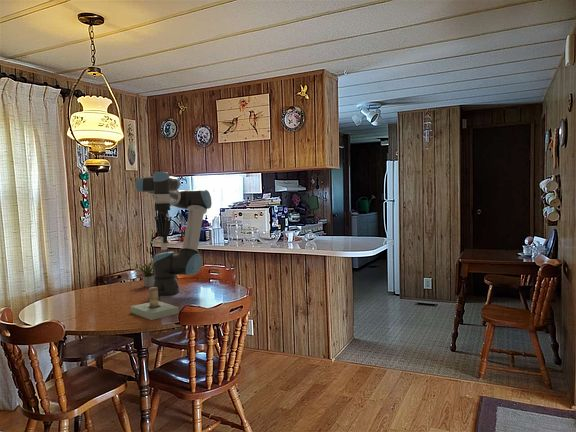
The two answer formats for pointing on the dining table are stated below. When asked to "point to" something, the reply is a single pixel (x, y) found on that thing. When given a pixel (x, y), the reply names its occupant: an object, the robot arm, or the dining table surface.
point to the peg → (153, 297)
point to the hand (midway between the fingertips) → (164, 249)
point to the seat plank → (154, 310)
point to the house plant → (148, 274)
